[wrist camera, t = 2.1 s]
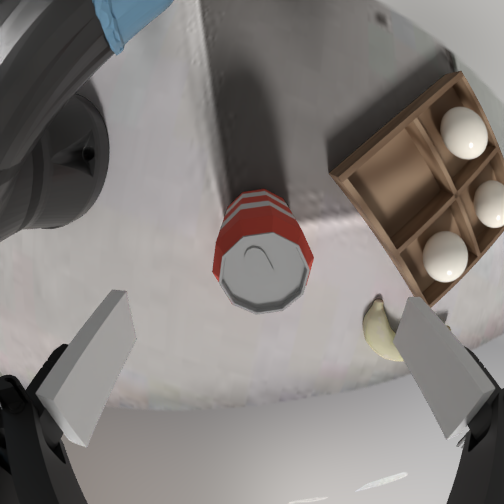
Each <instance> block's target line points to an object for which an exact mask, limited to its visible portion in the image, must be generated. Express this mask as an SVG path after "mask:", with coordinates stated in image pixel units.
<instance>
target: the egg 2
mask: <svg viewBox="0 0 504 504" xmlns="http://www.w3.org/2000/svg"><path fill="white" fill-rule="evenodd" d="M467 262H468V251H467V247H466V245H465V243H464V241H463V240H462V239H461V238H460V237H459V236H458V235H457V234H455V233H453V232H450V231H441V232H438V233H436V234H434V235H432V236H431V237H430V238H429V239H428V241H427V242H426V244H425V247H424V250H423V264H424V267H425V269H426V271H427V273H428V274H429V275H430V276H431V277H432V278H433V279H435V280H437V281H439V282H451V281H454V280H456V279H457V278H459V277H460V276H461V275H462V273H463V272H464V270H465V268H466V266H467Z"/></svg>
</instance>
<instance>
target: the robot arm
mask: <svg viewBox="0 0 504 504" xmlns="http://www.w3.org/2000/svg"><path fill="white" fill-rule="evenodd" d="M173 1H174V0H0V242H1V241H2V240H4V239H6V238H8V237H9V236H11V235H13V234H14V233H16V232H18V231H20V230H22V229H37V228H42V229H55V228H59V227H63V226H65V225H67V224H69V223H71V222H73V221H75V220H76V219H78V218H80V217H81V216H83V215H84V214H85V213H86V212H87V211H88V210H89V209H90V208H91V207H92V205H93V204H94V203H95V201H96V200H97V198H98V196H99V194H100V192H101V190H102V187H103V185H104V182H105V178H106V174H107V169H108V162H109V143H108V136H107V131H106V127H105V124H104V122H103V119H102V117H101V115H100V113H99V112H98V110H97V109H96V108H95V106H94V105H93V104H92V103H91V102H90V101H89V100H87V99H86V98H84V97H83V96H80V95H78V94H75V93H76V92H77V91H78V90H79V89H80V87H81V86H82V85H83V84H84V83H85V82H86V81H87V80H88V79H89V78H90V77H91V76H92V75H93V74H94V73H95V72H96V71H97V70H98V69H99V68H100V67H101V66H102V65H103V64H104V63H105V62H106V61H107V60H108V59H109V58H110V57H111V56H112V55H113V54H116V55H118V54H120V53H121V52H122V51H123V49H124V45H125V44H126V43H127V42H128V41H129V40H130V39H131V38H132V37H133V36H135V35H136V34H137V33H138V32H139V31H140V30H141V29H143V28H144V27H145V26H146V25H147V24H148V23H150V22H151V21H152V20H153V19H155V18H156V17H157V16H158V15H160V14H161V13H162V12H163V11H165V10H166V9H167V8H168V7H169V6H170V5H171V3H172V2H173ZM136 340H137V337H136V333H135V328H134V324H133V320H132V315H131V310H130V305H129V300H128V295H127V291H122V290H112V291H111V292H110V293H109V294H108V295H107V297H106V298H105V299H104V300H103V302H102V303H101V304H100V305H99V306H98V308H97V309H96V310H95V311H94V313H93V314H92V315H91V317H90V318H89V319H88V320H87V322H86V323H85V324H84V326H83V327H82V328H81V329H80V331H79V332H78V333H77V335H76V336H75V337H74V339H73V340H72V341H71V343H70V344H69V345H67V344H62V345H61V346H60V347H58V348H57V349H55V350H54V351H53V353H52V354H51V355H50V357H49V358H48V361H46V362H45V363H44V365H43V368H41V369H40V370H39V372H38V373H37V374H36V376H35V377H34V379H33V380H32V382H31V383H30V385H29V386H28V387H27V389H26V390H25V389H24V388H23V386H22V384H21V383H20V381H19V380H18V379H17V378H16V377H15V376H12V375H4V376H2V377H0V504H88V503H87V501H86V499H85V497H84V495H83V493H82V491H81V488H80V486H79V484H78V482H77V479H76V477H75V474H74V472H73V469H72V467H71V464H70V461H69V459H68V456H67V453H66V450H65V447H64V444H63V442H62V440H61V437H62V435H63V433H64V434H65V436H66V437H67V438H68V439H69V441H71V442H73V443H76V444H79V445H82V446H84V447H87V446H88V443H89V441H90V439H91V436H92V434H93V431H94V429H95V427H96V424H97V422H98V420H99V418H100V415H101V413H102V411H103V408H104V406H105V404H106V402H107V400H108V397H109V395H110V393H111V391H112V389H113V387H114V384H115V382H116V380H117V378H118V376H119V374H120V372H121V370H122V368H123V366H124V364H125V362H126V360H127V357H128V355H129V353H130V351H131V349H132V347H133V345H134V343H135V342H136ZM393 343H394V345H395V347H396V348H397V350H398V352H399V353H400V355H401V357H402V358H403V360H404V362H405V363H406V365H407V367H408V369H409V370H410V372H411V374H412V376H413V377H414V379H415V381H416V383H417V384H418V386H419V388H420V390H421V391H422V393H423V395H424V397H425V399H426V401H427V403H428V404H429V406H430V408H431V410H432V412H433V414H434V416H435V418H436V420H437V422H438V424H439V426H440V428H441V430H442V432H443V434H444V436H445V438H446V440H447V439H450V438H452V437H454V436H457V435H459V434H460V433H461V432H462V431H463V430H464V429H465V427H466V426H467V425H468V427H469V429H470V430H469V431H468V432H467V433H466V435H465V436H464V437H463V438H462V439H461V440H460V441H459V442H458V444H457V447H459V446H460V445H461V443H462V442H463V441H465V442H464V445H463V446H462V447H461V448H463V451H462V455H461V459H460V463H459V467H458V470H457V474H456V477H455V480H454V484H453V487H452V490H451V493H450V495H449V498H448V501H447V504H504V388H503V389H501V388H500V387H499V385H498V384H497V383H496V381H495V380H494V378H493V377H492V376H491V375H490V373H489V372H488V371H487V369H486V368H484V365H483V364H482V363H481V362H479V359H478V358H477V357H476V355H475V354H474V353H473V352H472V351H470V350H469V349H468V348H466V347H465V346H463V345H462V344H461V343H460V341H459V340H458V339H457V338H456V337H455V335H454V334H453V333H452V332H451V331H450V330H449V328H448V327H447V326H446V325H445V324H444V323H443V321H442V320H441V319H440V318H439V317H438V316H437V315H436V314H435V312H434V311H433V310H432V309H431V308H430V307H429V306H428V305H427V304H426V303H425V301H424V300H423V299H422V298H421V297H408V300H407V303H406V306H405V309H404V312H403V315H402V318H401V321H400V324H399V327H398V329H397V332H396V335H395V337H394V340H393Z"/></svg>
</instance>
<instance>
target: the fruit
mask: <svg viewBox="0 0 504 504" xmlns="http://www.w3.org/2000/svg"><path fill="white" fill-rule="evenodd" d="M447 327H448V328H449V330H450V331H451V329H450V327H449V326H447ZM363 331H364V336H365V339H366V341H367V343H368V344H369V345H370V347H371V348H372V349H373V350H374V351H375V352H376V353H377V354H378V355H380V356H381V357H383V358H385V359H388V360H392V361H404V360H403V358H402V357H401V355H400V353H399V352H398V350H397V348H396V347H395V345H394V343H393V340H394V337H395V335H396V333H395V332H394V331H393V330H392V329H391V327H390V325H389V323H388V320H387V317H386V314H385V311H384V308H383V301H382V300H381V299H378V300H377V299H376V300H375V301H374V303H373V305H372V307H371V308H370V309H369V311H368V312H367V313H366V315H365V317H364V320H363Z"/></svg>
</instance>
